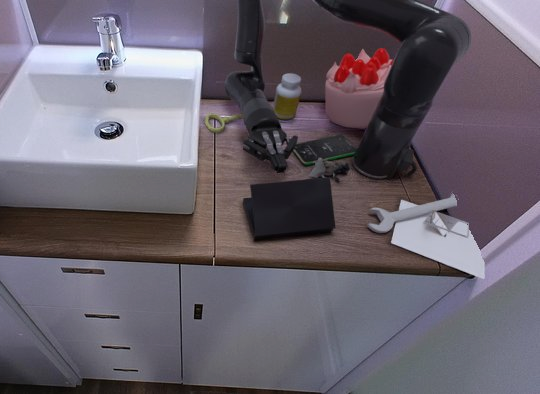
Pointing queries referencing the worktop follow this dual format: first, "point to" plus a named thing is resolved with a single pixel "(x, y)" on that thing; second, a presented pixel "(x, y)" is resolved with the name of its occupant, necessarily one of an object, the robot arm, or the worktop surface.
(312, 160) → the smartphone
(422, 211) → the wrench
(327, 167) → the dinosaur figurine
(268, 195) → the laptop screen
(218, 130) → the key
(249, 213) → the laptop
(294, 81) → the pill bottle
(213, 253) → the worktop surface
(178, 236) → the worktop surface
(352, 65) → the cake
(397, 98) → the robot arm
